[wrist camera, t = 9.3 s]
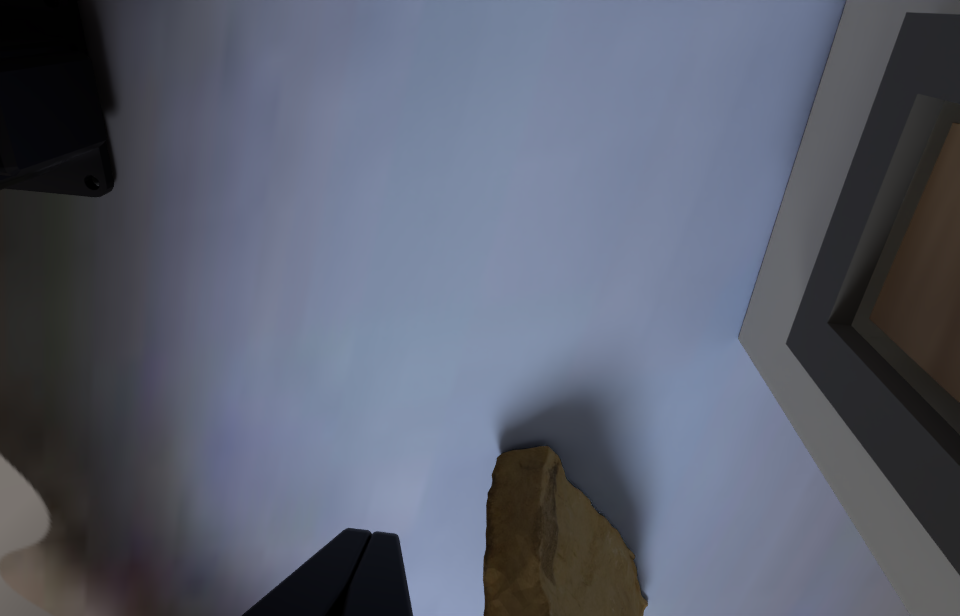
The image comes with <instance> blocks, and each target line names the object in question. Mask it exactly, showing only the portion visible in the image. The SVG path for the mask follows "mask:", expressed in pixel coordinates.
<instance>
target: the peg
mask: <svg viewBox="0 0 960 616" xmlns="http://www.w3.org/2000/svg"><path fill="white" fill-rule="evenodd" d="M869 319H870V320H871V321H872V322H873V323H874V324H875V325H876V326H877V327H879V328H880V329H881V330H882V331H883V332H884V333H885V334H886V335H887V336H888V337H889V338H890V339H891V340H892V341H893V342H895V343H896V344H897V345H898V346H899V347H900V348H901V349H902V350H903V351H904V352H905V353H906V354H907V355H908V356H910V357H911V358H912V359H913V360H914V361H915V362H916V363H917V364H918V365H919V366H920V367H921V368H922V369H923V370H924V371H926V372H927V373H928V374H929V375H930V376H931V377H932V378H933V379H934V380H935V381H936V382H937V383H938V384H939V385H940V386H942V387H943V388H944V389H945V390H946V391H947V392H948V393H949V394H950V395H951V396H952V397H953V398H954V399H955V400H957V401H958V402H959V403H960V123H952V126H951V128H950V130H949V133H948V135H947V137H946V140H945V142H944V144H943V147H942V149H941V151H940V154H939V156H938V158H937V161H936V163H935V165H934V168H933V170H932V172H931V175H930V177H929V179H928V182H927V184H926V186H925V189H924V191H923V193H922V196H921V198H920V200H919V203H918V205H917V207H916V210H915V212H914V214H913V217H912V219H911V221H910V224H909V226H908V228H907V231H906V233H905V235H904V238H903V240H902V242H901V245H900V247H899V249H898V252H897V254H896V256H895V259H894V261H893V263H892V266H891V268H890V270H889V272H888V275H887V277H886V279H885V282H884V284H883V286H882V289H881V291H880V293H879V296H878V298H877V300H876V303H875V305H874V307H873V310H872V312H871V314H870V317H869Z"/></svg>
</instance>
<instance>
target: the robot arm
mask: <svg viewBox="0 0 960 616" xmlns="http://www.w3.org/2000/svg"><path fill="white" fill-rule="evenodd" d="M106 139H107V137H106V132H105V127H104V122H103V117H102V112H101V107H100V102H99V97H98V92H97V88H96V83H95V78H94V73H93V68H92V63H91V61H90V59H89V58H88V53H87V48H86V43H85V38H84V34H83V29H82V24H81V19H80V14H79V9H78V4H77V0H60V4H59V6H57V5H56V4H55V3H54V2H53V0H0V190H2V189H4V188H6V189H16V190H27V191H37V192H47V193H57V194H68V195H78V196H88V197H101V196H103V195H105V194H107V193H109V192H110V191H112V189H113V187H114V180H113V175H112V170H111V165H110V160H109V155H108V150H107V146H106ZM92 176H94V177H95V178H96V179H98V181H99V183H100V184H99V186H97V185H96V184H95V183H94V182H93V180H92ZM242 616H413V613H412V607H411V602H410V596H409V591H408V585H407V580H406V574H405V568H404V563H403V557H402V552H401V546H400V541H399V537H398V535H397V534H394V533H386V532H379V531H376V532H374V533H373V534H372V533H371V532H370V531H369V530H362V529H354V528H347V529H345V530H343V531H342V532H341V533H340V534H338V535H337V536H336V537H335V538H334V539H333V540H331V541H330V542H329V543H328V544H327V545H325V546H324V547H323V548H322V549H321V550H319V551H318V552H317V553H316V554H315V555H313V556H312V557H311V558H310V559H309V560H307V561H306V562H305V563H304V564H303V565H301V566H300V567H299V568H298V569H297V570H295V571H294V572H293V573H292V574H291V575H289V576H288V577H287V578H286V579H285V580H284V581H282V582H281V583H280V584H279V585H278V586H276V587H275V588H274V589H273V590H272V591H270V592H269V593H268V594H267V595H266V596H264V597H263V598H262V599H261V600H260V601H258V602H257V603H256V604H255V605H254V606H252V607H251V608H250V609H249V610H248V611H246V612H245V613H244V614H243V615H242Z"/></svg>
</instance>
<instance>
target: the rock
mask: <svg viewBox="0 0 960 616" xmlns="http://www.w3.org/2000/svg"><path fill="white" fill-rule="evenodd" d="M492 480H493V481H492V486H491V488H490V490H489V492H488V499H487V504H486V520H487V527H486V551H485V555H484V567H483V583H484V595H485V609H484V616H643V613H644V610H645V608H646V607H647V606H648V603H647V601H646V599H644V598H643V597H642V596H641V590H640V586H639V582H638V580H637V569H636V566H635V563H634V561H633V560H634V559H635V555H634V554H633V553H632V552H631V551H630V550H629V549H628V548H627V546H626V545H625V543H624V541H623V539H622V538H621V536H620V534H619V532H618V531H617V529H615V528H613V527H612V526H611V524H610V523H609V522H608V520H607V519H606V518H605V517H604V516H602V515H600V514H598V512H597V511H596V510H595V508H594V507H593V506H591V502H590V500H589V498H587V497H586V496H585V495H584V494H583V493H582V492H581V491H580V490H579V489H577V488H575V487H574V486H573V485H572V484H570V483H569V481H568V480H567V479H566V476H565V472H564V469H563V467H562V464H561V460H560V458H559V457H558V455H557V454H555V453H554V451H553V450H552V449H551V448H550V447H548V446H538V447H534V448H528V449H519V450H511V451H508V452H505V453H502V454H501V455H500V456H499V457H497V461H496V465H495V468H494V470H493V473H492Z"/></svg>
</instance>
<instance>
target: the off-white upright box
mask: <svg viewBox="0 0 960 616" xmlns="http://www.w3.org/2000/svg"><path fill="white" fill-rule="evenodd" d="M952 123H960V0H847V1H846V4H845V7H844V10H843V13H842V16H841V20H840V23H839V26H838V29H837V32H836V35H835V38H834V41H833V44H832V48H831V51H830V54H829V57H828V60H827V63H826V66H825V69H824V73H823V76H822V79H821V82H820V85H819V88H818V91H817V94H816V97H815V101H814V104H813V107H812V110H811V113H810V116H809V119H808V122H807V126H806V129H805V132H804V135H803V138H802V141H801V144H800V147H799V150H798V154H797V157H796V160H795V163H794V166H793V169H792V172H791V175H790V179H789V182H788V185H787V188H786V191H785V194H784V197H783V200H782V203H781V207H780V210H779V213H778V216H777V219H776V222H775V225H774V228H773V231H772V235H771V238H770V241H769V244H768V247H767V250H766V253H765V256H764V260H763V263H762V266H761V269H760V272H759V275H758V278H757V281H756V284H755V288H754V291H753V294H752V297H751V300H750V303H749V306H748V309H747V313H746V316H745V319H744V322H743V325H742V328H741V331H740V334H739V337H738V339H739V341H740V343H741V344H742V346H743V347H744V349H745V351H746V352H747V354H748V355H749V357H750V359H751V360H752V362H753V363H754V365H755V367H756V368H757V370H758V371H759V373H760V375H761V376H762V378H763V379H764V381H765V383H766V384H767V386H768V387H769V389H770V391H771V392H772V394H773V396H774V397H775V399H776V400H777V402H778V404H779V405H780V407H781V408H782V410H783V412H784V413H785V415H786V416H787V418H788V420H789V421H790V423H791V424H792V426H793V428H794V429H795V431H796V432H797V434H798V436H799V437H800V439H801V440H802V442H803V444H804V445H805V447H806V448H807V450H808V452H809V453H810V455H811V456H812V458H813V460H814V461H815V463H816V464H817V466H818V468H819V469H820V471H821V473H822V474H823V476H824V477H825V479H826V481H827V482H828V484H829V485H830V487H831V489H832V490H833V492H834V493H835V495H836V497H837V498H838V500H839V501H840V503H841V505H842V506H843V508H844V509H845V511H846V513H847V514H848V516H849V517H850V519H851V521H852V522H853V524H854V525H855V527H856V529H857V530H858V532H859V533H860V535H861V537H862V538H863V540H864V541H865V543H866V545H867V546H868V548H869V549H870V551H871V553H872V554H873V556H874V558H875V559H876V561H877V562H878V564H879V566H880V567H881V569H882V570H883V572H884V574H885V575H886V577H887V578H888V580H889V582H890V583H891V585H892V586H893V588H894V590H895V591H896V593H897V594H898V596H899V598H900V599H901V601H902V602H903V604H904V606H905V607H906V609H907V610H908V612H909V614H910V615H911V616H960V403H959V402H958V401H957V400H955V399H954V398H953V397H952V396H951V395H950V394H949V393H948V392H947V391H946V390H945V389H944V388H943V387H942V386H940V385H939V384H938V383H937V382H936V381H935V380H934V379H933V378H932V377H931V376H930V375H929V374H928V373H927V372H926V371H924V370H923V369H922V368H921V367H920V366H919V365H918V364H917V363H916V362H915V361H914V360H913V359H912V358H911V357H910V356H908V355H907V354H906V353H905V352H904V351H903V350H902V349H901V348H900V347H899V346H898V345H897V344H896V343H895V342H893V341H892V340H891V339H890V338H889V337H888V336H887V335H886V334H885V333H884V332H883V331H882V330H881V329H880V328H879V327H877V326H876V325H875V324H874V323H873V322H872V321H871V320H870V319H869V317H870V314H871V312H872V310H873V307H874V305H875V303H876V300H877V298H878V296H879V293H880V291H881V289H882V286H883V284H884V282H885V279H886V277H887V275H888V272H889V270H890V268H891V266H892V263H893V261H894V259H895V256H896V254H897V252H898V249H899V247H900V245H901V242H902V240H903V238H904V235H905V233H906V231H907V228H908V226H909V224H910V221H911V219H912V217H913V214H914V212H915V210H916V207H917V205H918V203H919V200H920V198H921V196H922V193H923V191H924V189H925V186H926V184H927V182H928V179H929V177H930V175H931V172H932V170H933V168H934V165H935V163H936V161H937V158H938V156H939V154H940V151H941V149H942V147H943V144H944V142H945V140H946V137H947V135H948V133H949V130H950V128H951V126H952Z"/></svg>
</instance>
